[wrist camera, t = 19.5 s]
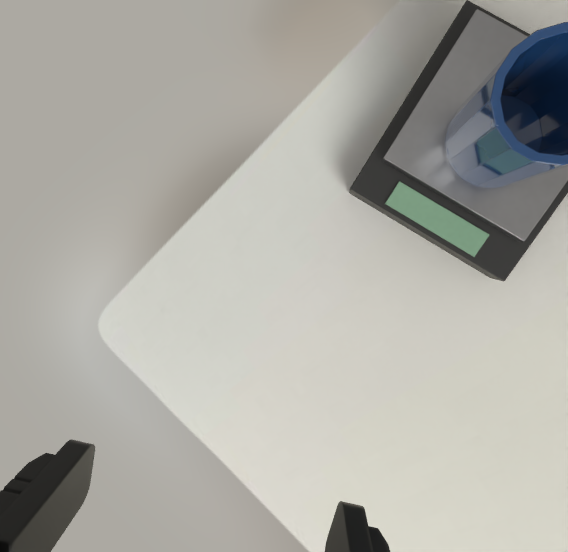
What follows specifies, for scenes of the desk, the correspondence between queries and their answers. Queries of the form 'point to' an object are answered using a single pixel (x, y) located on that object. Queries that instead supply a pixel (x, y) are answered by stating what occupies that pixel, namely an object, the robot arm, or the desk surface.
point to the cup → (515, 115)
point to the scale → (431, 206)
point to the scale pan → (435, 120)
